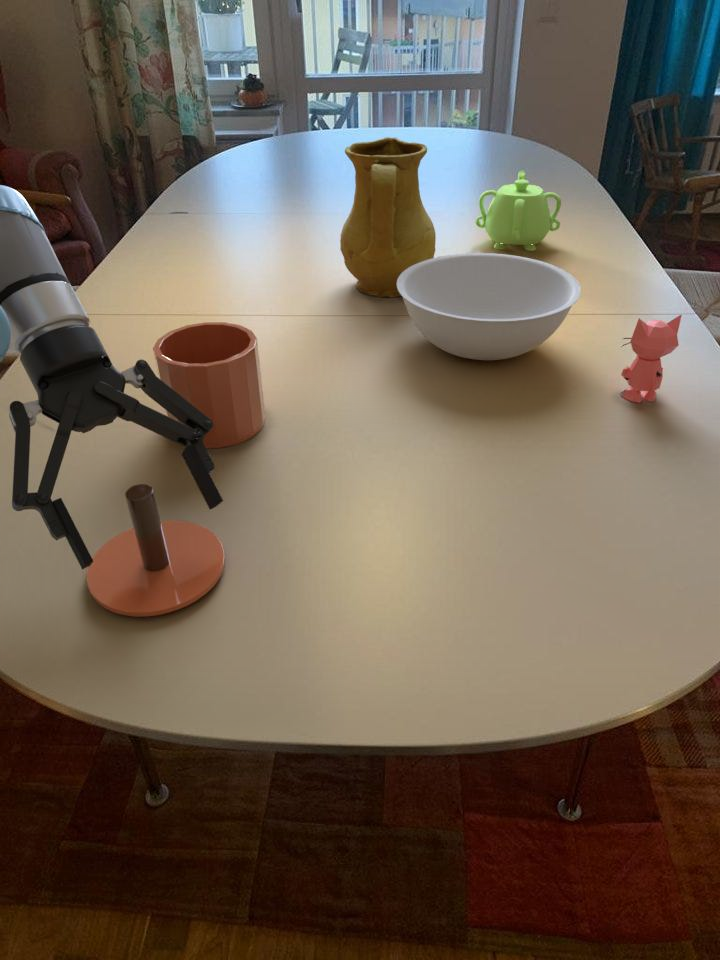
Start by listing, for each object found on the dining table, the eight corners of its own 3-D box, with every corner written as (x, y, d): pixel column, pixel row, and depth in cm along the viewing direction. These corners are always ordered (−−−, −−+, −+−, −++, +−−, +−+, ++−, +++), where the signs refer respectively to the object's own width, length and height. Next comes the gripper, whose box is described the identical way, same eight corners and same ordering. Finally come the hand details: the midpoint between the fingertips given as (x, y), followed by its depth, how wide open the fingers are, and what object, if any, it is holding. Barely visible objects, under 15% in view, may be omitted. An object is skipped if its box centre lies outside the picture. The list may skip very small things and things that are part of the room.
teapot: (463, 237, 159) (467, 176, 152) (516, 226, 164) (522, 167, 157) (509, 259, 147) (515, 194, 140) (564, 247, 153) (573, 183, 145)
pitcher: (453, 277, 138) (454, 134, 123) (399, 315, 127) (392, 163, 112) (379, 262, 147) (371, 127, 132) (321, 297, 136) (305, 154, 120)
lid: (70, 621, 69) (40, 539, 63) (111, 529, 80) (90, 451, 74) (213, 621, 69) (197, 538, 63) (235, 528, 80) (223, 451, 74)
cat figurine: (653, 383, 105) (672, 303, 98) (677, 407, 99) (700, 324, 92) (606, 388, 104) (622, 307, 97) (628, 412, 99) (647, 329, 92)
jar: (159, 448, 93) (142, 366, 86) (180, 399, 103) (166, 322, 97) (258, 448, 93) (248, 365, 86) (269, 398, 103) (262, 321, 96)
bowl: (565, 396, 102) (577, 330, 96) (376, 374, 108) (376, 310, 103) (574, 318, 123) (584, 260, 118) (415, 304, 130) (417, 247, 124)
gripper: (164, 321, 81) (252, 492, 80) (-79, 396, 68) (24, 599, 68) (179, 289, 75) (275, 473, 74) (-86, 365, 62) (27, 588, 61)
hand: (155, 534), depth 71 cm, fingers open, 13 cm apart
